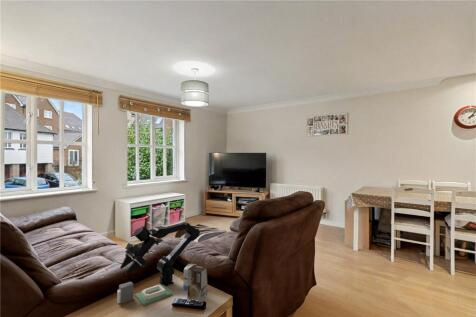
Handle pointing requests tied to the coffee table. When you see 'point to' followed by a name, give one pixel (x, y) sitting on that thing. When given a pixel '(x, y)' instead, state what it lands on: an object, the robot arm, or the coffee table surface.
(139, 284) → the coffee table surface
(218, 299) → the coffee table surface
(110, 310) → the coffee table surface
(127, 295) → the plug
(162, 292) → the dock
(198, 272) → the coffee box
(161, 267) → the robot arm
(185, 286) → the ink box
